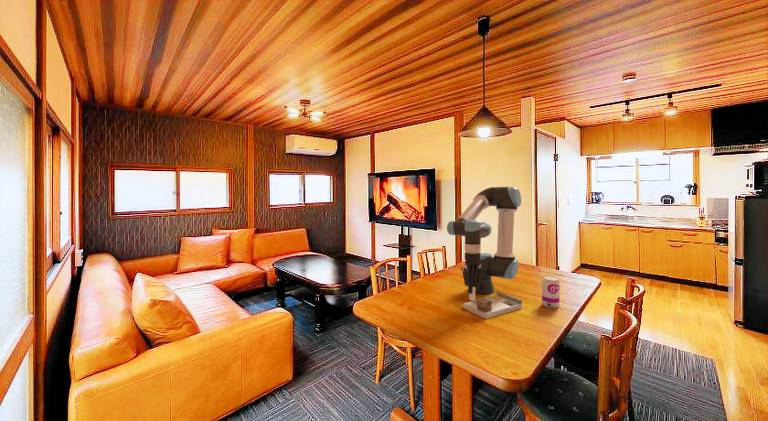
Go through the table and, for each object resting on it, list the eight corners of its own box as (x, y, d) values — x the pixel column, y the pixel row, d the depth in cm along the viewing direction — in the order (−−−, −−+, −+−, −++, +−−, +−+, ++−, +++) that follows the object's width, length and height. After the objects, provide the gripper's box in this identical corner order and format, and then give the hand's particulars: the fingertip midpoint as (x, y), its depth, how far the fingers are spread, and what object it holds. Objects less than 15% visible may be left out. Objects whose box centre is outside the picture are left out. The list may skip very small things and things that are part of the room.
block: (484, 312, 150) (484, 302, 150) (477, 309, 155) (477, 299, 154) (491, 310, 153) (491, 300, 152) (484, 307, 157) (484, 297, 157)
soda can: (561, 309, 159) (562, 281, 158) (544, 308, 161) (545, 280, 160) (556, 303, 167) (556, 276, 166) (539, 302, 169) (540, 276, 168)
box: (486, 318, 149) (486, 310, 149) (463, 307, 163) (463, 299, 163) (521, 308, 161) (521, 300, 161) (497, 299, 175) (497, 291, 175)
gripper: (467, 254, 141) (467, 304, 143) (488, 252, 148) (487, 299, 149) (456, 252, 148) (456, 299, 149) (476, 249, 154) (476, 295, 156)
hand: (472, 299), depth 149 cm, fingers closed
